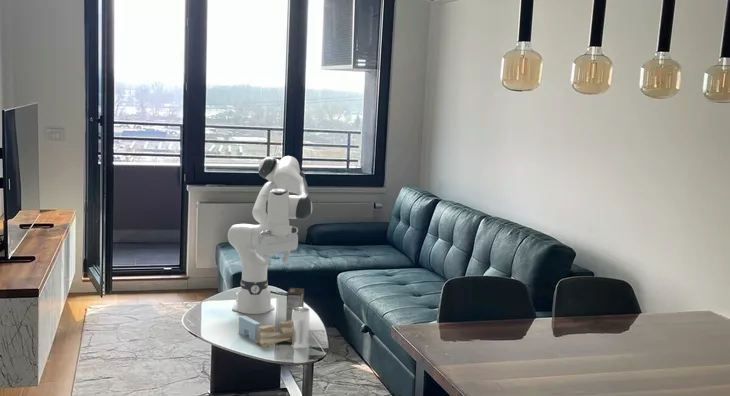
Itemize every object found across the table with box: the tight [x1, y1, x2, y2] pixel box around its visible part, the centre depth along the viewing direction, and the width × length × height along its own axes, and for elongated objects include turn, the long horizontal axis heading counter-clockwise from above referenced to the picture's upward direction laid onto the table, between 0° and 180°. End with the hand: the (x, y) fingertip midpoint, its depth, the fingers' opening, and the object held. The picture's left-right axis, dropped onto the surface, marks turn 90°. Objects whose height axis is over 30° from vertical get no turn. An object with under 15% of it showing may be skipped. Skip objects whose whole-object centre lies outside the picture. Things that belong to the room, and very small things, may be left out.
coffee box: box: [285, 287, 305, 321], centre depth 289 cm, size 9×6×16 cm
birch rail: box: [254, 320, 293, 349], centre depth 272 cm, size 6×16×7 cm, turn 133°
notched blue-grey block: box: [238, 315, 262, 342], centre depth 276 cm, size 12×2×7 cm, turn 42°
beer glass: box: [291, 306, 311, 350], centre depth 267 cm, size 7×7×15 cm
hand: (276, 263), depth 278 cm, fingers open, 8 cm apart
